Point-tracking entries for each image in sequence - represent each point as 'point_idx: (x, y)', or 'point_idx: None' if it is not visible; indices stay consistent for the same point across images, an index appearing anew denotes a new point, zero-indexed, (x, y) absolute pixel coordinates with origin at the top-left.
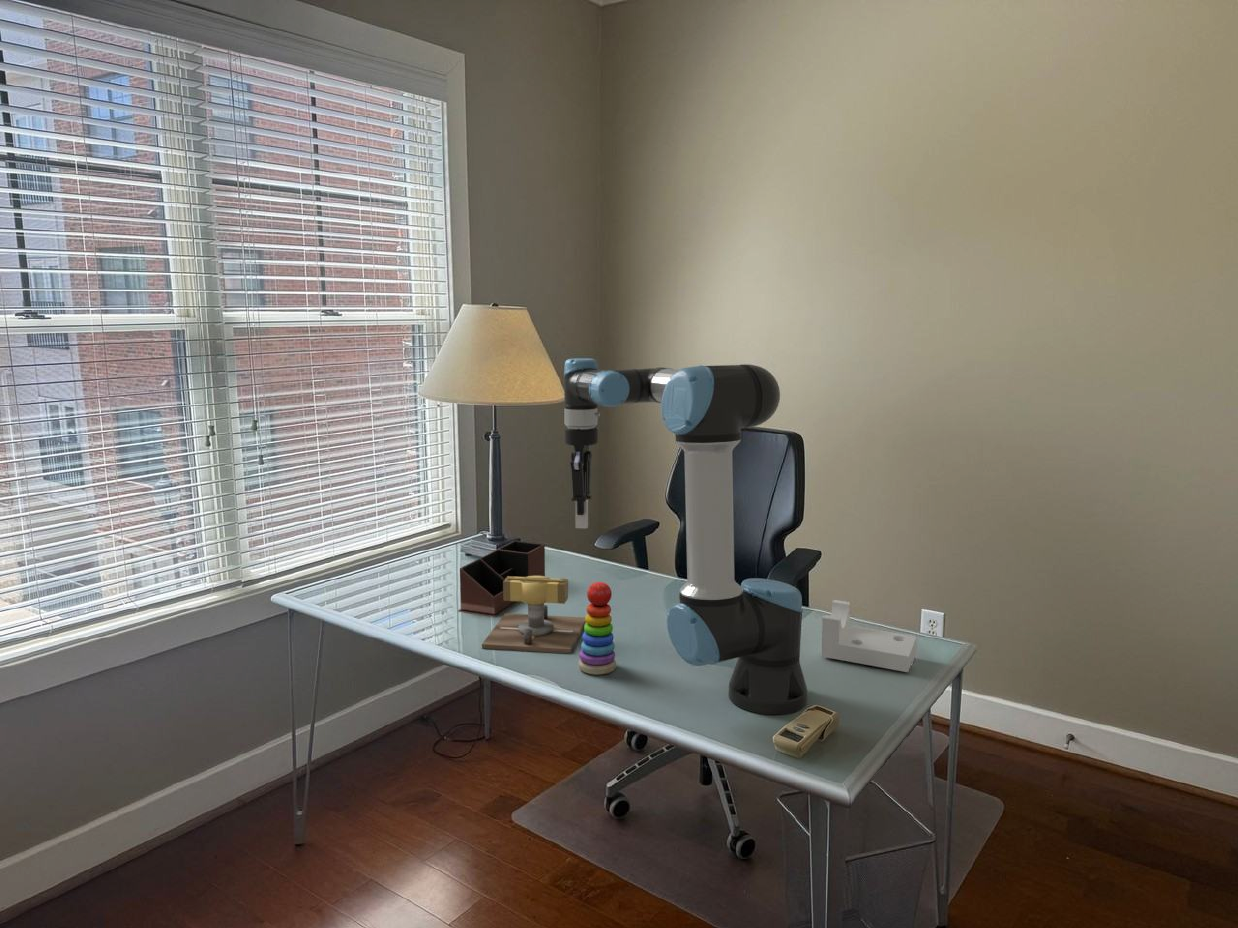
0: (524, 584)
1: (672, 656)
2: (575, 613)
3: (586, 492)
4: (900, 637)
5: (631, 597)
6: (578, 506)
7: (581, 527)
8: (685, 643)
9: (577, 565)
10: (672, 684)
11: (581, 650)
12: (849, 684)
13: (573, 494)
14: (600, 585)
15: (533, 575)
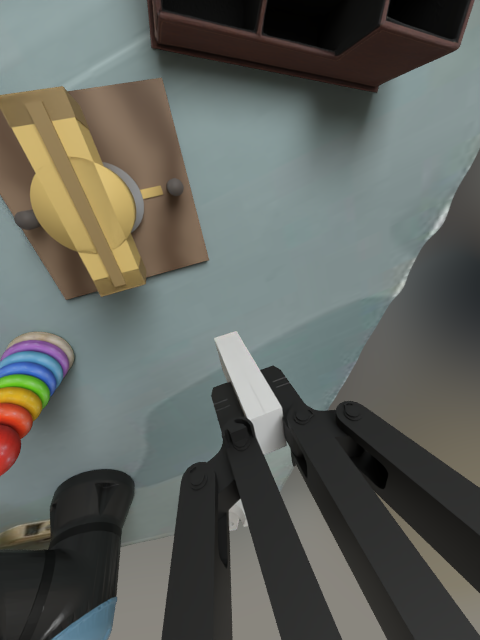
0: (30, 191)
1: (143, 399)
2: (235, 224)
3: (304, 478)
4: (233, 523)
5: (320, 275)
6: (220, 424)
7: (219, 357)
8: None
9: (462, 119)
10: (64, 433)
11: (16, 349)
12: (162, 508)
13: (178, 516)
14: None
15: (353, 65)
